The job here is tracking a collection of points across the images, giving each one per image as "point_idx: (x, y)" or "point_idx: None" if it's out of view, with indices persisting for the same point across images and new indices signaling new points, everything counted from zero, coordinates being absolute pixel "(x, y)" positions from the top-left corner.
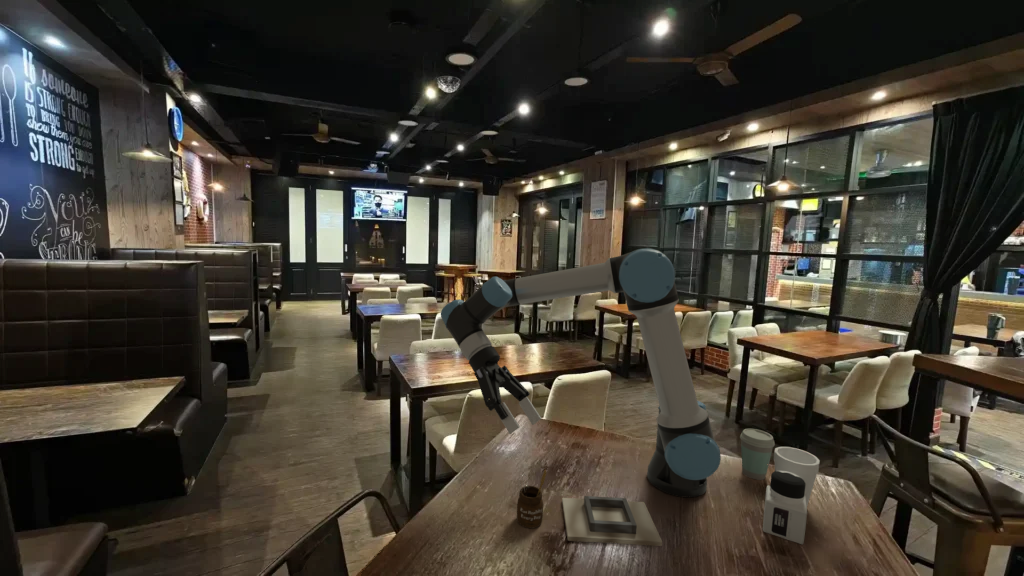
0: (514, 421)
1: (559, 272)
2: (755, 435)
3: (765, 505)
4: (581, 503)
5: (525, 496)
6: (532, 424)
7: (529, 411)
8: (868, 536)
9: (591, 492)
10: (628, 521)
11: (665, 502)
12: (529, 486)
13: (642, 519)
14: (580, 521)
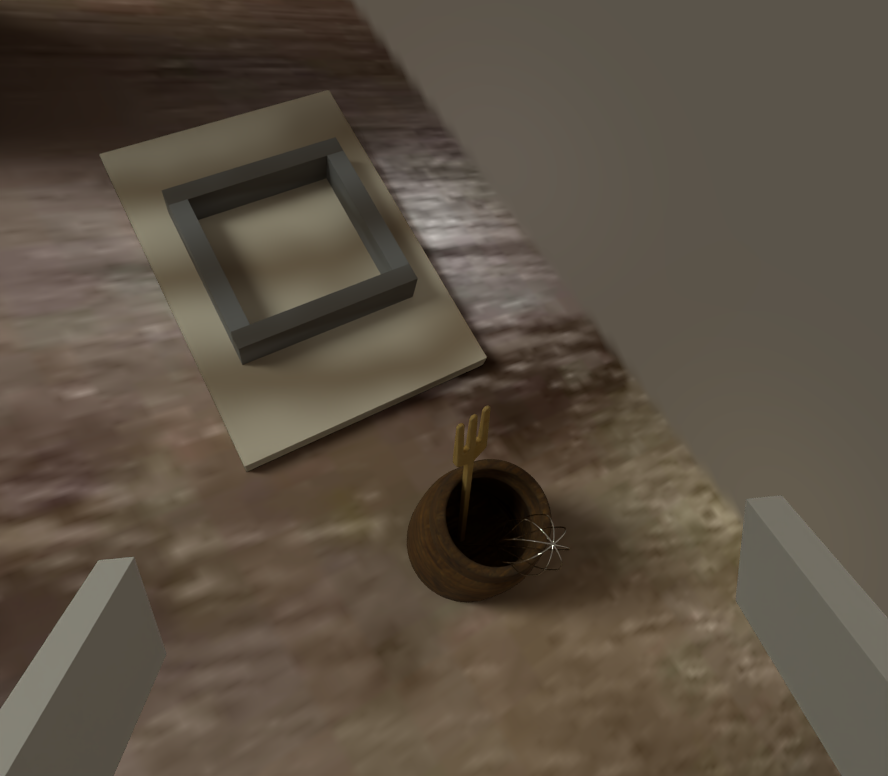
0: (820, 546)
1: None
2: None
3: None
4: (245, 374)
5: (546, 521)
6: (163, 655)
7: (90, 729)
8: None
9: (95, 375)
10: (294, 179)
11: (32, 98)
12: (453, 546)
13: (231, 150)
14: (375, 342)
